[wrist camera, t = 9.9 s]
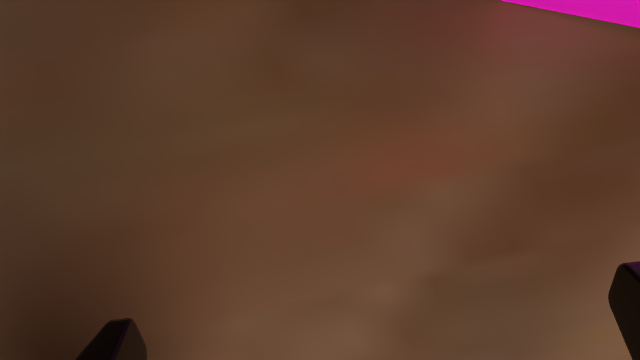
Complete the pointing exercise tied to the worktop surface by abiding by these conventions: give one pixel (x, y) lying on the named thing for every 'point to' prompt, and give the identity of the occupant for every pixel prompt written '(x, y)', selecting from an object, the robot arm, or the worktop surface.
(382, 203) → the worktop surface
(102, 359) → the robot arm
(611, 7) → the toy block
